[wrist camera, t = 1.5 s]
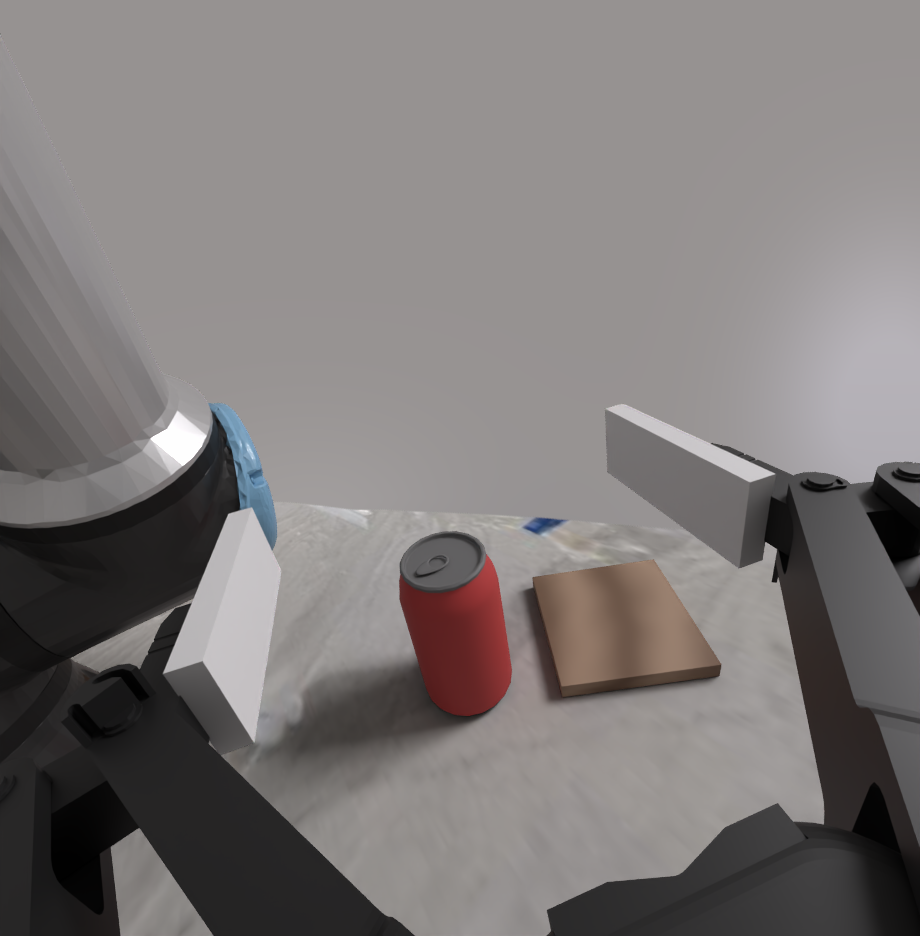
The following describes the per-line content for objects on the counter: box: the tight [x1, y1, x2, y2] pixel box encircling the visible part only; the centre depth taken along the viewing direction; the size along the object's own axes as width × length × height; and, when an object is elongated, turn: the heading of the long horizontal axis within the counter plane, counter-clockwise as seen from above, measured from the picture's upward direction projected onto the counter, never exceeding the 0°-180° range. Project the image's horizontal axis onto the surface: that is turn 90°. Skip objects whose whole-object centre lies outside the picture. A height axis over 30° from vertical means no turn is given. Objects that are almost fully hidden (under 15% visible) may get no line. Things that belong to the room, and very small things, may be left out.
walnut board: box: [532, 559, 721, 697], centre depth 36 cm, size 11×11×1 cm
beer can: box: [399, 531, 512, 716], centre depth 31 cm, size 7×7×12 cm
